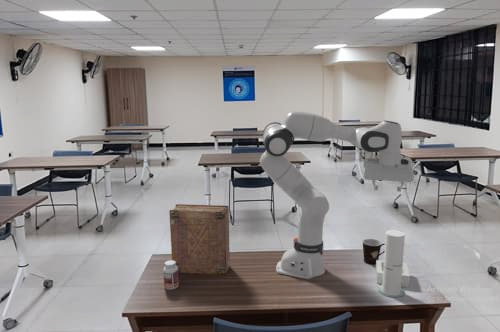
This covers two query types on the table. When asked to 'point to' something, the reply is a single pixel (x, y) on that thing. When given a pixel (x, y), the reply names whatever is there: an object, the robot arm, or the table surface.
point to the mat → (391, 295)
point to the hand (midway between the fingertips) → (387, 190)
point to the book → (200, 238)
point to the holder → (405, 273)
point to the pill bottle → (171, 275)
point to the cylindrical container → (393, 262)
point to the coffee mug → (371, 251)
